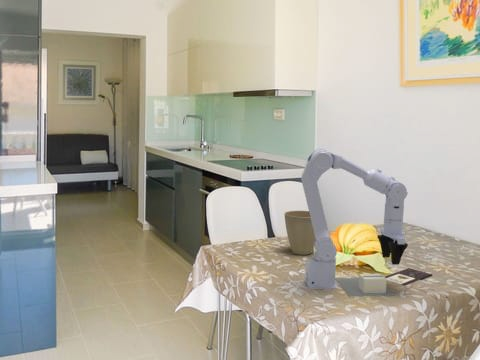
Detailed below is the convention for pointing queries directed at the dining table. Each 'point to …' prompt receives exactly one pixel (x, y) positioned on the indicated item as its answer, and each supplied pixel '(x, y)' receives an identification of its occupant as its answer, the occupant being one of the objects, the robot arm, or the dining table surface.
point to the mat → (353, 288)
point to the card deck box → (372, 283)
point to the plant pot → (300, 231)
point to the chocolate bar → (407, 276)
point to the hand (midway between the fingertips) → (390, 260)
